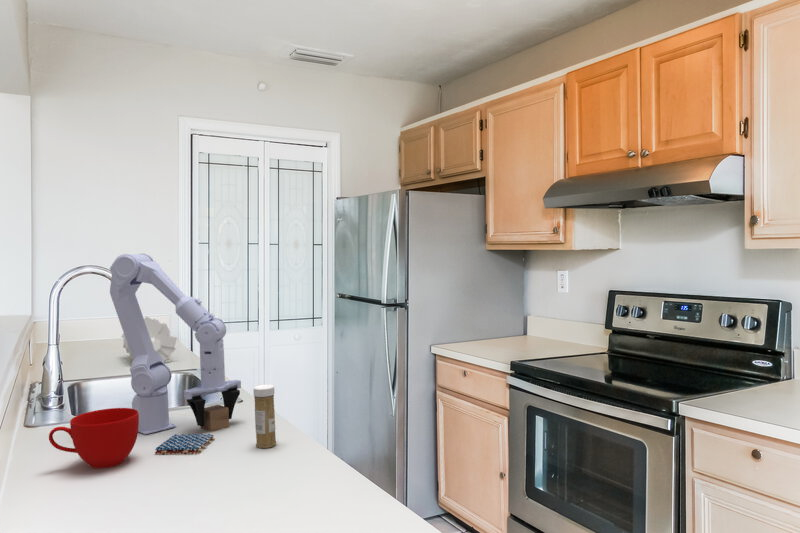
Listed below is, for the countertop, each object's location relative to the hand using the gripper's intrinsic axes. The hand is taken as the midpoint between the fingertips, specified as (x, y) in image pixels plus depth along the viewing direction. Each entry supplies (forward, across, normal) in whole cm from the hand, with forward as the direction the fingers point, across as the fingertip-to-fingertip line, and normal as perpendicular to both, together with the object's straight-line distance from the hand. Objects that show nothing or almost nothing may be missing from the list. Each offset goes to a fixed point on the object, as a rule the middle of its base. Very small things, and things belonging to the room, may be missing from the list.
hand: (214, 422), depth 150 cm
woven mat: (+2, -12, -8) cm, 15 cm away
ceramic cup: (+2, -29, -4) cm, 30 cm away
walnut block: (+2, 0, 0) cm, 2 cm away
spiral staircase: (+2, +32, +107) cm, 112 cm away
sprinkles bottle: (+2, 0, -22) cm, 22 cm away
